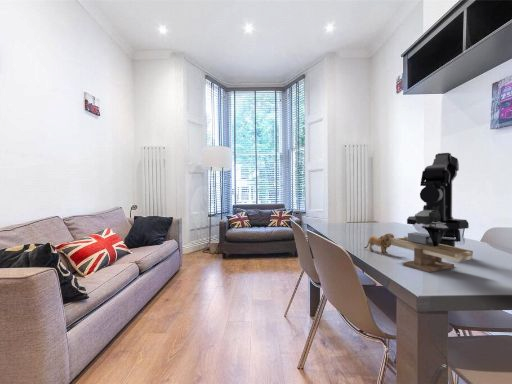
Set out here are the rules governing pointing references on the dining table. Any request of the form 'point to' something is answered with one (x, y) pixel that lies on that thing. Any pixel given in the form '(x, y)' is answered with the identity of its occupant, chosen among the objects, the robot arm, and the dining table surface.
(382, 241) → the lion figurine
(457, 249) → the beam
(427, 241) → the block
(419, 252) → the stand
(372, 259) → the dining table surface
